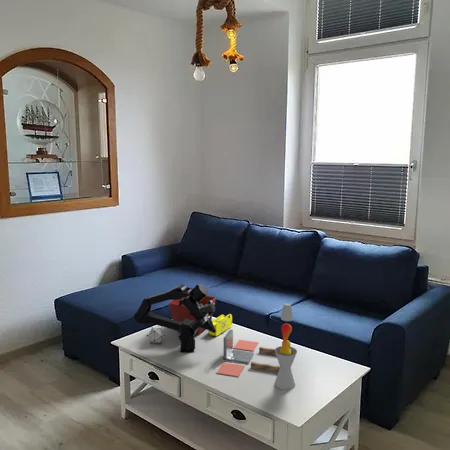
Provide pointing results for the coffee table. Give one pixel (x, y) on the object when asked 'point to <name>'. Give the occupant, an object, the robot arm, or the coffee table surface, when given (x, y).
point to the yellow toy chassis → (221, 324)
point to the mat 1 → (230, 369)
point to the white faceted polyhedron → (155, 335)
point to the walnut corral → (265, 366)
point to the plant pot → (187, 311)
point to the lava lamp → (285, 353)
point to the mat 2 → (246, 345)
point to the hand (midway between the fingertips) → (215, 332)
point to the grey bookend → (234, 351)
